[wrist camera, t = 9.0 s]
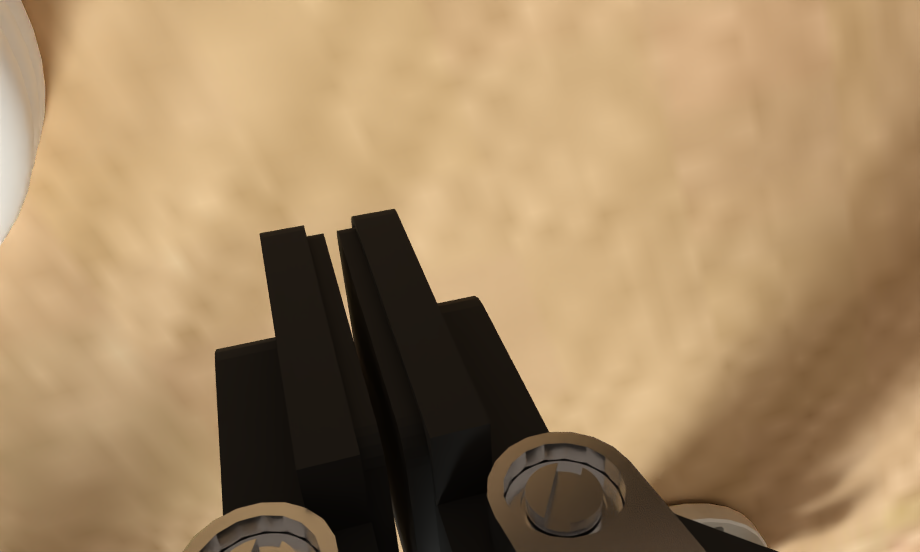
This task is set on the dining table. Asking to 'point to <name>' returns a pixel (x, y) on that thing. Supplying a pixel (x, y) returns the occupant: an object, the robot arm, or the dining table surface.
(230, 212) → the dining table surface
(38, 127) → the white round tin
